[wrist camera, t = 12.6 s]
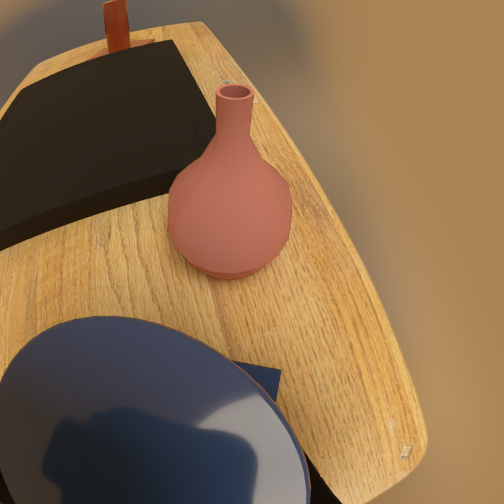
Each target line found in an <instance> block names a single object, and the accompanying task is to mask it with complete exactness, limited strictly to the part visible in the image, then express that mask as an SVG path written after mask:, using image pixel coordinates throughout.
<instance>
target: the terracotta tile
mask: <svg viewBox="0 0 504 504" xmlns="http://www.w3.org/2000/svg"><path fill="white" fill-rule="evenodd" d="M154 41H155V39H148V40H137V41H130V43H131V47H129V48H132V47H136V46H141V45H145V44H150V43H152V42H154ZM106 54H110V53H109V52H108V47H107V48H105V49H104V50H102V51H100V52H99V53H97V54H96V55H94V56H93V57H91V58H89V59H88V60H91V59H94V58H97V57H100V56H103V55H106ZM88 60H86V61H88Z"/></svg>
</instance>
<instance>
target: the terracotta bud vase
mask: <svg viewBox="0 0 504 504" xmlns="http://www.w3.org/2000/svg"><path fill="white" fill-rule="evenodd" d="M253 99H254V91H253V89H251V88H250V87H248V86H246V85H241V84H227V85H223V86H220V87H219V88H217V90H216V134H215V136H214V137H213V139H212V140H211V142H210V143H209V145H208V146H207V148H206V150H205V151H204V153H203V154H202V156H201V157H200V158H198V159H197V160H195V161H194V162H192V163H191V164H190V165H188V166H187V167H186V168H185V169H184V170H183V171H181V172H180V173H179V174H178V175H177V177H176V178H175V180H174V182H173V184H172V186H171V187H170V189H169V201H168V232H169V235H170V237H171V240H172V242H173V245H174V247H175V248H176V249H177V250H178V251H179V252H180V253H181V254H182V255H183V256H184V257H185V258H186V259H187V260H188V261H189V262H190V263H191V264H192V265H193V266H194V267H196V268H197V269H198V270H199V271H200V272H203V273H205V274H207V275H210V276H212V277H214V278H220V279H233V280H234V279H238V278H242V277H246V276H250V275H252V274H253V273H255V272H256V271H258V270H259V269H261V268H262V267H264V266H265V265H266V264H268V263H269V262H270V261H271V260H273V259H274V258H275V257H276V256H277V255H278V254H279V252H280V251H281V250H282V248H283V247H284V245H285V244H286V242H287V241H288V238H289V232H290V226H291V215H292V197H291V193H290V190H289V187H288V183H287V182H286V181H285V180H284V178H283V177H282V176H281V175H280V173H279V172H278V171H277V170H276V169H275V168H274V167H272V166H271V165H270V164H269V163H267V162H266V161H265V160H264V159H262V157H261V155H260V153H259V151H258V150H257V148H256V146H255V144H254V142H253V140H252V138H251V137H250V135H249V133H250V124H251V116H252V107H253Z"/></svg>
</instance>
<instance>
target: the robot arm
mask: <svg viewBox="0 0 504 504" xmlns="http://www.w3.org/2000/svg"><path fill="white" fill-rule="evenodd" d="M301 447H302V446H301ZM302 450H303V448H302ZM303 453H304V456H305V459H306V463H307V466H308V470H309V478H310V485H311V497H310V504H342V503H341V502H340V501H339V499H338V498H337V497H336V496H335V495H334V494H333V492H332V491H331V490H330V488H329V487H328V486H327V484H326V483H325V481H324V480H323V478H322V477H320V474H319V473H318V471H317V470H316V468H315V466H314V465H313V463H312V462H311V460H310V459H309V457H308V456H307V454H306V453H305V451H304V450H303ZM0 504H15V502H14V500H13V498H12V496H11V495H10V493H9V491H8V489H7V486H6V484H5V482H4V479H3V477H2V474H1V471H0Z"/></svg>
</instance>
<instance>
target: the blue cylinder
mask: <svg viewBox="0 0 504 504" xmlns="http://www.w3.org/2000/svg"><path fill="white" fill-rule="evenodd" d="M0 471H1V474H2V477H3V479H4V482H5V484H6V486H7V489H8V491H9V493H10V495H11V496H12V498H13V500H14V502H15V504H310V497H311V485H310V478H309V470H308V466H307V463H306V459H305V456H304V453H303V450H302V447H301V445H300V443H299V441H298V439H297V437H296V434H295V432H294V430H293V428H292V426H291V425H290V423H289V422H288V420H287V419H286V417H285V416H284V414H283V413H282V411H281V410H280V408H279V407H278V406H277V404H276V403H275V402H274V401H273V400H272V399H271V397H270V396H269V395H268V394H267V393H266V391H265V390H264V389H263V388H262V387H261V386H260V385H259V384H258V383H257V382H256V381H255V380H254V379H253V378H251V377H250V376H249V375H248V374H247V373H246V372H245V371H244V370H243V369H241V368H240V367H239V366H237V365H236V364H235V363H234V362H232V361H231V360H230V359H228V358H227V357H226V356H224V355H223V354H221V353H220V352H218V351H216V350H215V349H213V348H211V347H210V346H208V345H207V344H205V343H204V342H201V341H199V340H197V339H195V338H193V337H191V336H189V335H187V334H185V333H183V332H181V331H178V330H175V329H172V328H170V327H167V326H164V325H161V324H159V323H154V322H150V321H146V320H142V319H138V318H130V317H122V316H92V317H86V318H79V319H74V320H71V321H67V322H64V323H61V324H58V325H56V326H54V327H51V328H49V329H47V330H45V331H43V332H42V333H40V334H39V335H37V336H36V337H34V338H33V339H32V340H30V341H29V342H28V343H27V344H26V345H25V346H24V347H23V348H22V349H21V350H20V351H19V352H18V353H17V354H16V356H15V357H14V358H13V360H12V361H11V362H10V364H9V365H8V367H7V369H6V371H5V373H4V375H3V376H2V379H1V382H0Z"/></svg>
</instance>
